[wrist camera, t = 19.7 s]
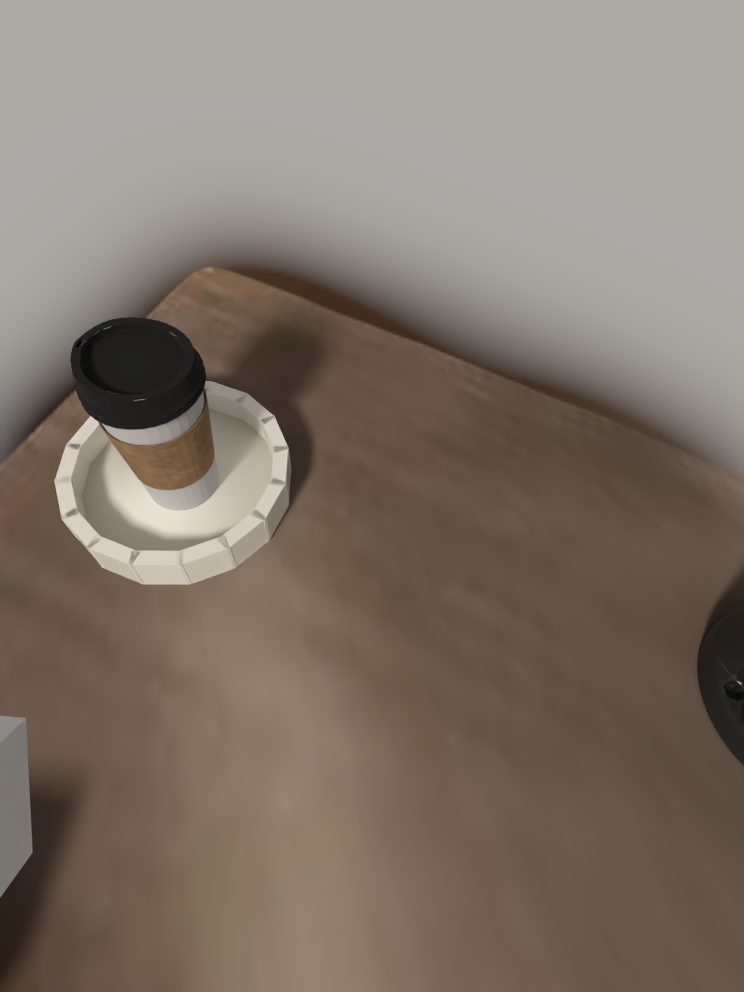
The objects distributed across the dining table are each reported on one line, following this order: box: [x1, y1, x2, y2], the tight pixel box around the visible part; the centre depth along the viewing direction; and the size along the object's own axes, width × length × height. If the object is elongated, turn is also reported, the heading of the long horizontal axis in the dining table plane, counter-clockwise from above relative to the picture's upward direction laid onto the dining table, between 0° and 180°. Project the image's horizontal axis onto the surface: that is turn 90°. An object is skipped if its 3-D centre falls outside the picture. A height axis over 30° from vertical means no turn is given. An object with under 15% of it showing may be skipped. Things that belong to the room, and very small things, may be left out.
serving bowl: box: [54, 381, 292, 585], centre depth 51 cm, size 18×18×4 cm
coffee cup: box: [70, 318, 218, 511], centre depth 45 cm, size 8×8×15 cm
